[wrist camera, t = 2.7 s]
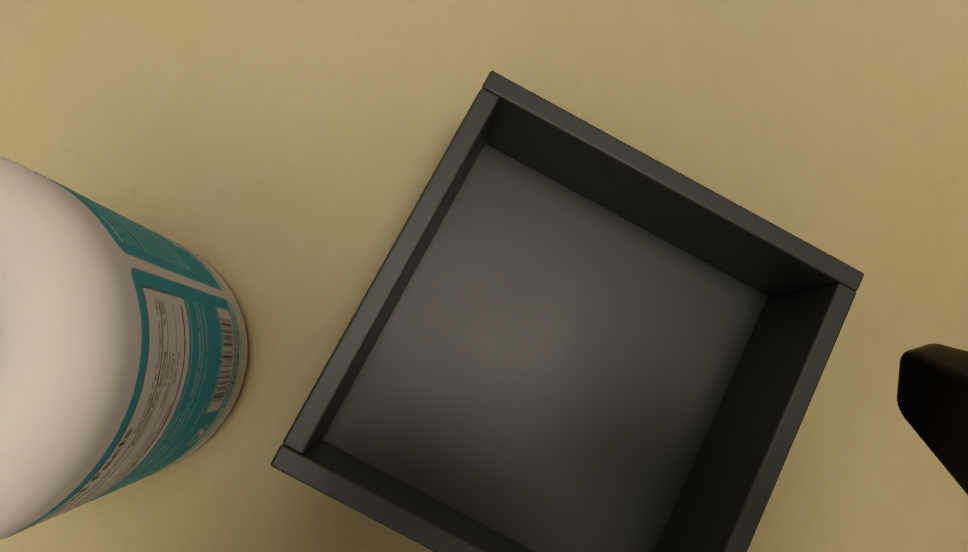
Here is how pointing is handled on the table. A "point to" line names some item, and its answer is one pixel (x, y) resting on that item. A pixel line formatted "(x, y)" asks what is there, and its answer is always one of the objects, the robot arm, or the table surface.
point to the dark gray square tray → (570, 351)
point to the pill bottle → (101, 350)
